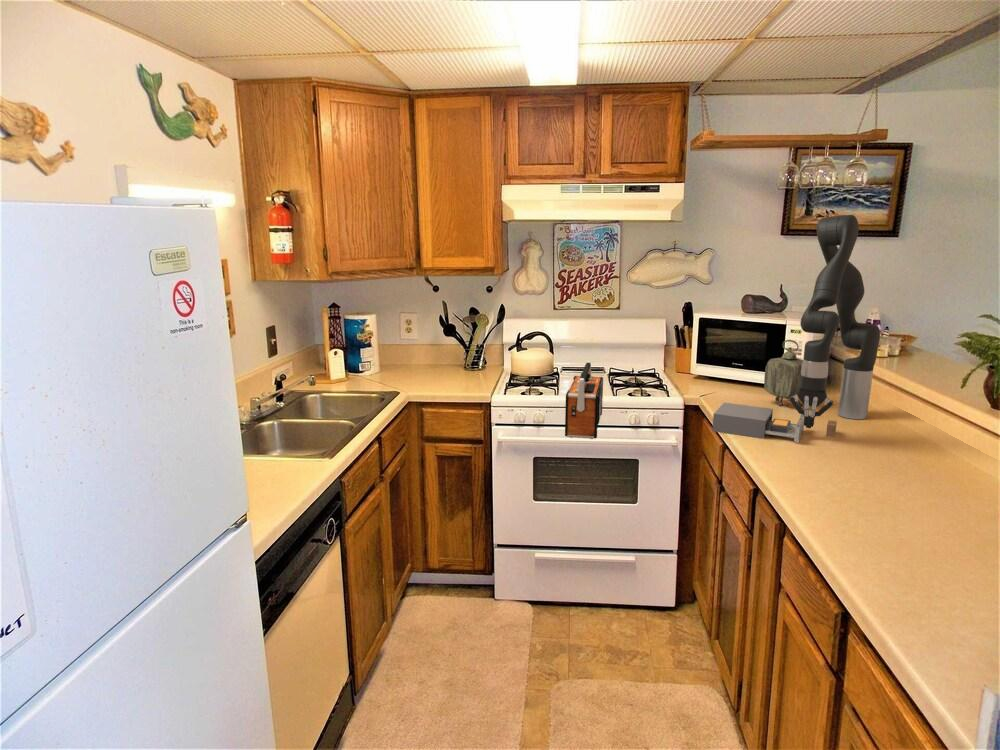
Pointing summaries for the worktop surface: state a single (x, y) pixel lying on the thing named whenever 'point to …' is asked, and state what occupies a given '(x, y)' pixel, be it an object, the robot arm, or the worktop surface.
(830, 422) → the brown rectangular block
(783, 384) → the tabletop clock
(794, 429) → the tray
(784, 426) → the block
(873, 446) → the worktop surface
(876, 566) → the worktop surface
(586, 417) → the radio cassette player
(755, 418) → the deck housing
